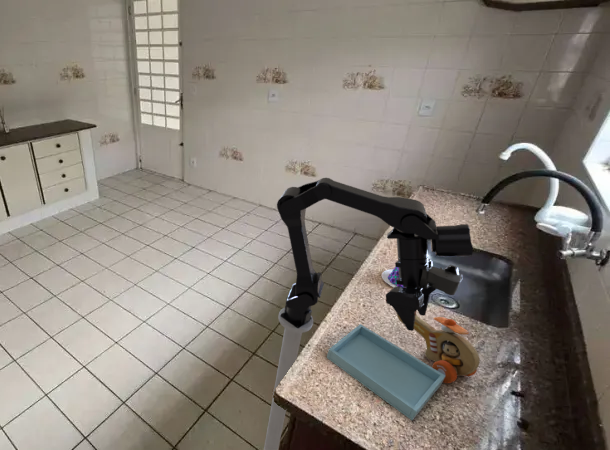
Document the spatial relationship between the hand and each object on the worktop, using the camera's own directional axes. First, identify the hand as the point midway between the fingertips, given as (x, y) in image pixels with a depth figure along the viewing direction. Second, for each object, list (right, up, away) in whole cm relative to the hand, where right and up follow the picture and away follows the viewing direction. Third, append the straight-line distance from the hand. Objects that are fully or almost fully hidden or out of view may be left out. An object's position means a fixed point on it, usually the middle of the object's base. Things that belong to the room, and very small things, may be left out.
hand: (416, 322), depth 80 cm
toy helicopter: (+9, -11, +9) cm, 17 cm away
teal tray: (-5, -13, +5) cm, 15 cm away
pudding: (+19, +3, +36) cm, 40 cm away
